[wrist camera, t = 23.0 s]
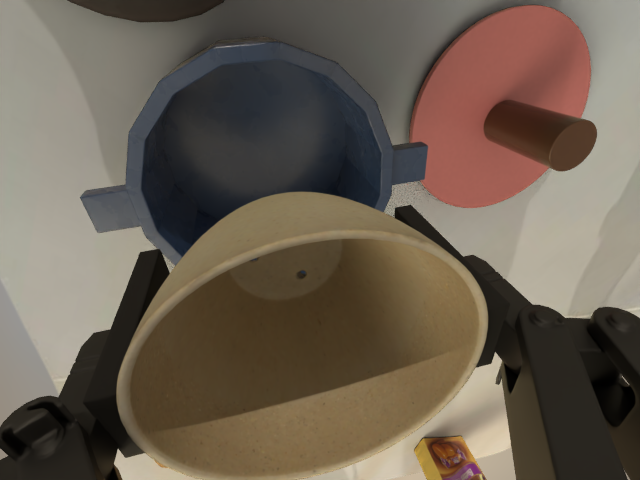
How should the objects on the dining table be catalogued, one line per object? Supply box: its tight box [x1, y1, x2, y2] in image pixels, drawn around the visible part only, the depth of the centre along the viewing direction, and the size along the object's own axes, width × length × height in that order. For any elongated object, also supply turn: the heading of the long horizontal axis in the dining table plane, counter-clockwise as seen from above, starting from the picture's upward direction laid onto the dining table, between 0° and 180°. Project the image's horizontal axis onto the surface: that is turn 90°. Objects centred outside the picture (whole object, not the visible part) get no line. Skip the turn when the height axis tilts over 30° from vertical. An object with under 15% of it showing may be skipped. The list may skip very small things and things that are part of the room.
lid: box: [409, 5, 597, 208], centre depth 27 cm, size 17×17×9 cm
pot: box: [80, 36, 428, 274], centre depth 24 cm, size 16×21×8 cm
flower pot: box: [116, 192, 488, 480], centre depth 12 cm, size 10×10×7 cm
